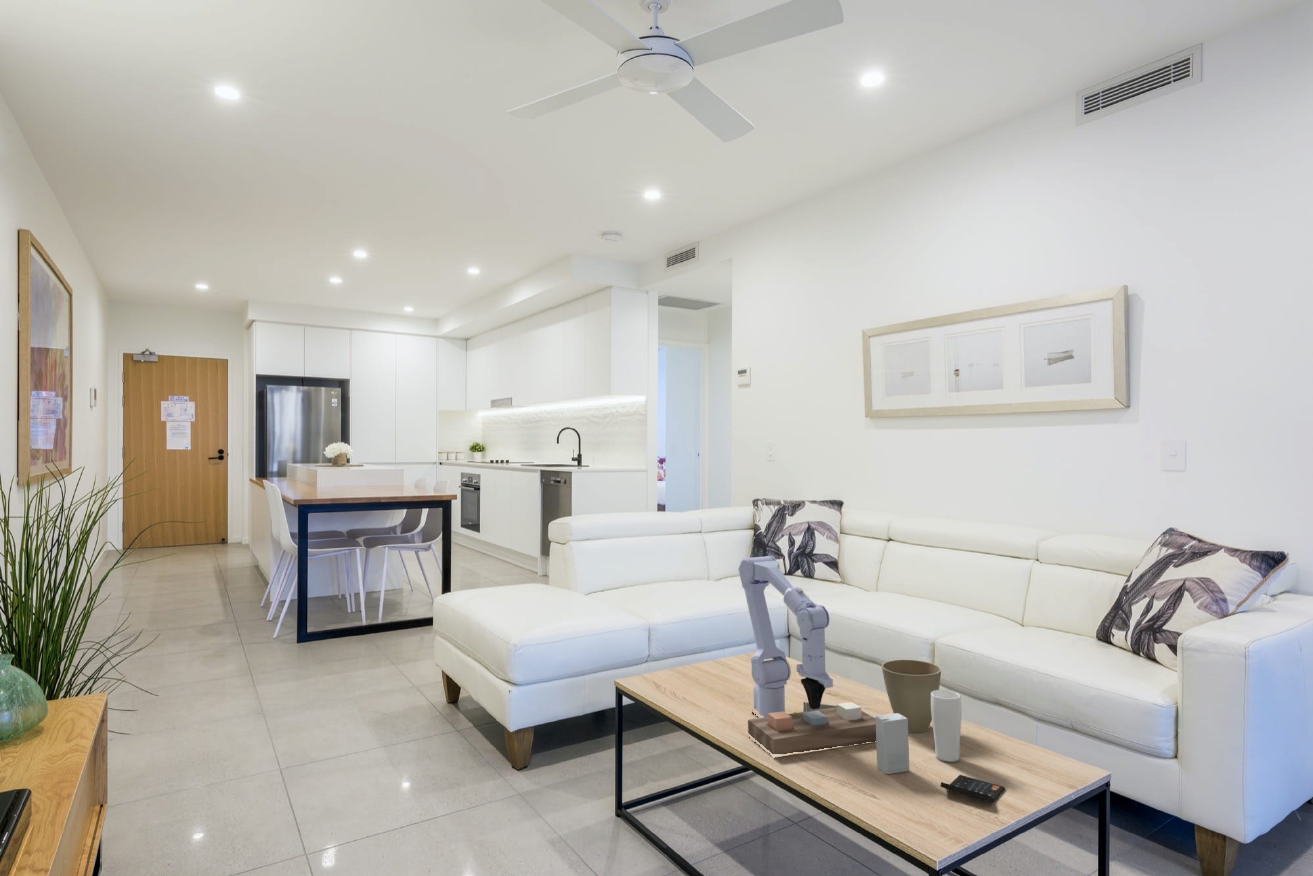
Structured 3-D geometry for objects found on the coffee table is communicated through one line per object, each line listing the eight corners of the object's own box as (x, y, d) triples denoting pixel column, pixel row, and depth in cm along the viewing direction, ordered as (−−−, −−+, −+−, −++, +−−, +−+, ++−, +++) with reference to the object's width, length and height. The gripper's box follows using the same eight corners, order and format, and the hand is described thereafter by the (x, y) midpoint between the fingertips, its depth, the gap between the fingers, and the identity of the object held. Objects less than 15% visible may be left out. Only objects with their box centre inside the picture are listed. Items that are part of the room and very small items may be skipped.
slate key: (803, 726, 182) (803, 712, 183) (818, 724, 184) (818, 710, 184) (812, 732, 178) (811, 718, 178) (827, 730, 180) (827, 716, 180)
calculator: (1005, 791, 152) (1004, 776, 152) (987, 811, 143) (987, 796, 143) (959, 778, 158) (959, 764, 158) (940, 797, 150) (940, 782, 150)
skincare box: (899, 764, 165) (897, 711, 166) (910, 772, 161) (909, 718, 161) (875, 767, 164) (874, 714, 164) (886, 775, 159) (885, 721, 160)
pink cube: (768, 727, 179) (767, 713, 180) (783, 725, 181) (783, 711, 181) (776, 733, 175) (776, 719, 175) (792, 731, 177) (791, 717, 177)
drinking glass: (944, 766, 164) (942, 700, 165) (926, 754, 171) (924, 691, 171) (969, 762, 166) (967, 697, 166) (950, 751, 172) (948, 688, 173)
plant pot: (916, 714, 197) (914, 656, 198) (955, 733, 183) (954, 671, 184) (871, 722, 192) (870, 662, 193) (908, 742, 178) (906, 677, 179)
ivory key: (837, 717, 186) (836, 703, 186) (851, 715, 187) (851, 701, 187) (846, 723, 181) (846, 709, 182) (861, 721, 183) (861, 707, 183)
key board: (748, 737, 183) (747, 719, 183) (852, 722, 192) (851, 705, 193) (773, 758, 170) (773, 739, 170) (884, 741, 179) (883, 722, 179)
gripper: (785, 648, 187) (786, 700, 187) (814, 663, 174) (815, 719, 173) (809, 646, 190) (810, 697, 189) (839, 660, 176) (840, 716, 175)
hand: (814, 708), depth 181 cm, fingers closed
